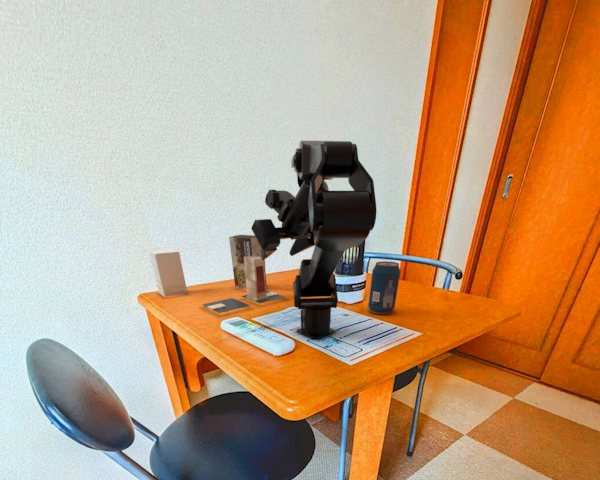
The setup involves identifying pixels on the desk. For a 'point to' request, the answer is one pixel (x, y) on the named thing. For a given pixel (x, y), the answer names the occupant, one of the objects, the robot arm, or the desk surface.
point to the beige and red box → (255, 277)
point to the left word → (225, 305)
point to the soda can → (384, 287)
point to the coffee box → (243, 255)
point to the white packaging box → (168, 272)
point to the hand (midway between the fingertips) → (276, 256)
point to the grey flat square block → (269, 296)
